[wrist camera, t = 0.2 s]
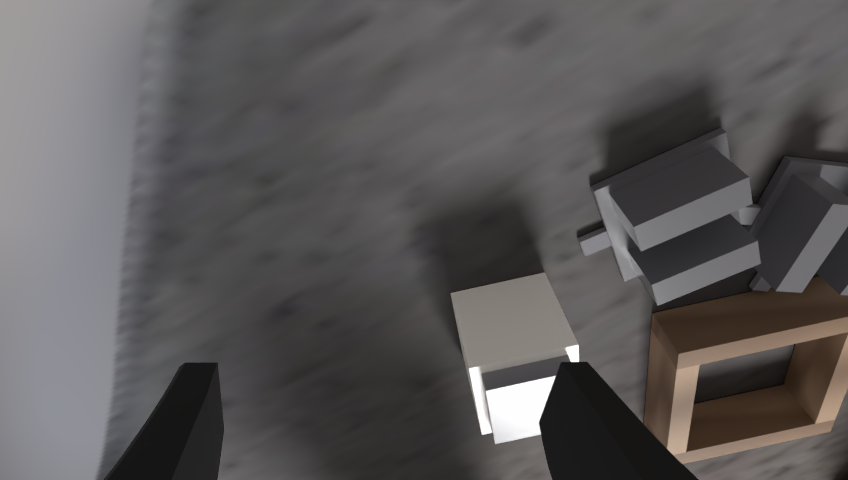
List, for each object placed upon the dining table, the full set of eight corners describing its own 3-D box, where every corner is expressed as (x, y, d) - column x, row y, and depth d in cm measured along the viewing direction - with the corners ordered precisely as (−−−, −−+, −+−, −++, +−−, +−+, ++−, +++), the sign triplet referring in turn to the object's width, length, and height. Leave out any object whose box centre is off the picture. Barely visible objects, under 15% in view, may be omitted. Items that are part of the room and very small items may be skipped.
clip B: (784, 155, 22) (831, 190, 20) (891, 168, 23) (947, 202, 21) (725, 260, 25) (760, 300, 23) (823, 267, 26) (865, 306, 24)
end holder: (798, 392, 31) (830, 431, 29) (643, 426, 31) (664, 467, 29) (836, 272, 26) (878, 310, 24) (652, 313, 26) (678, 353, 24)
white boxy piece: (548, 338, 27) (587, 430, 23) (463, 356, 27) (486, 452, 23) (544, 271, 24) (586, 361, 20) (450, 292, 24) (473, 385, 20)
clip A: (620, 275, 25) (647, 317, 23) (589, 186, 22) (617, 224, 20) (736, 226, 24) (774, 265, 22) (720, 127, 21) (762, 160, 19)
